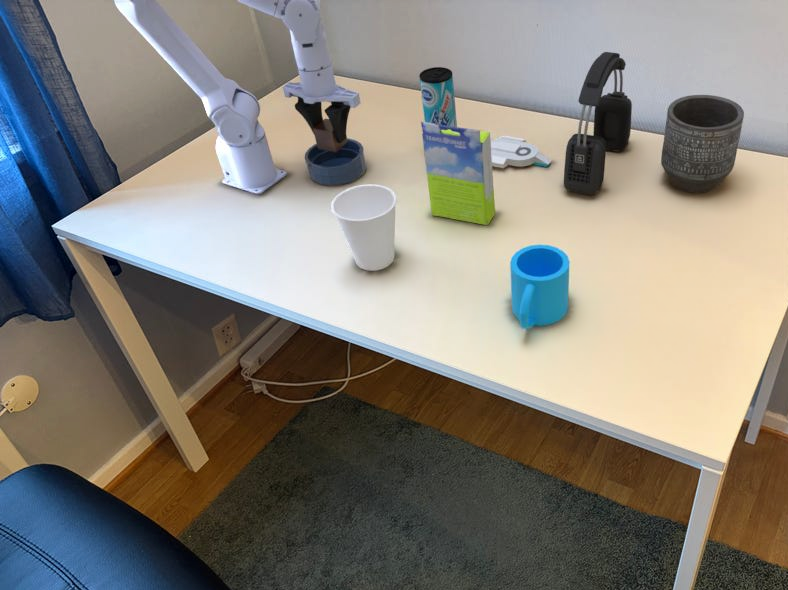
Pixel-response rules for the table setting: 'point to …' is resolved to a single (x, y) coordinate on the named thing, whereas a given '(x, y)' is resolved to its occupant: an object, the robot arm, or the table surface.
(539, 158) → the toy rocket
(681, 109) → the planter
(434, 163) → the box
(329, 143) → the block
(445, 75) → the blue printed cylinder
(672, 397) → the table surface
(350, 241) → the cup
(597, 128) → the headphones
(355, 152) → the bowl
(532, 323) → the mug
